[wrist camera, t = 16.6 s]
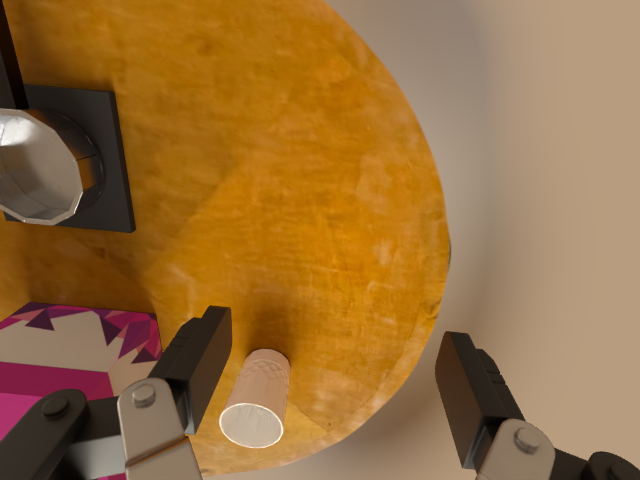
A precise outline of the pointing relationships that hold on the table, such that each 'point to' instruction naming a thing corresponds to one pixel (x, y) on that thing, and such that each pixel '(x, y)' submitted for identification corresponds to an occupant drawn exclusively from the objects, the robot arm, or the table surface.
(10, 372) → the decorative box
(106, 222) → the trivet
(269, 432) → the white cup
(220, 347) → the robot arm
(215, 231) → the table surface
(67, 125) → the steel pan
